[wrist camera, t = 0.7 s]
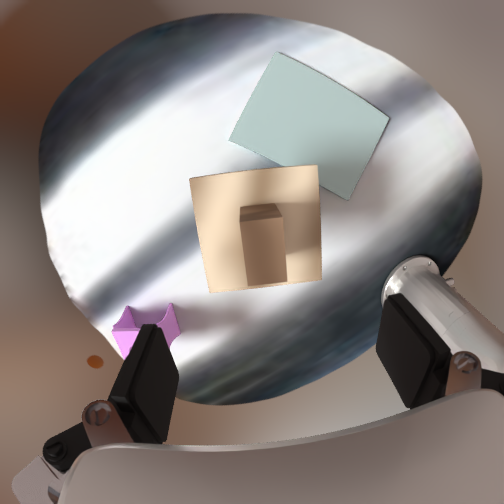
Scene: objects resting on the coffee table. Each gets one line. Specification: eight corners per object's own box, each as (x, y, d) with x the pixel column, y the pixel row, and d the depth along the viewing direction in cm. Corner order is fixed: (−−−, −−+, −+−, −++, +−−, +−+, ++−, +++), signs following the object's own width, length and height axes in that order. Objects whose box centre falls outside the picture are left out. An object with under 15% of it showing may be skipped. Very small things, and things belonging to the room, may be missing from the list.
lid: (314, 164, 23) (336, 169, 18) (319, 275, 27) (336, 307, 22) (191, 177, 23) (175, 187, 18) (210, 288, 27) (203, 323, 22)
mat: (387, 118, 32) (389, 118, 32) (346, 200, 37) (347, 201, 36) (275, 52, 29) (275, 51, 28) (228, 140, 33) (228, 140, 33)
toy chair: (122, 300, 41) (83, 359, 27) (170, 297, 41) (143, 363, 27) (136, 339, 44) (109, 401, 31) (182, 338, 44) (164, 406, 30)
